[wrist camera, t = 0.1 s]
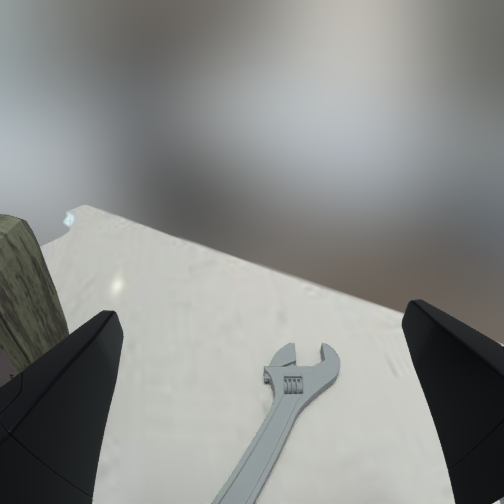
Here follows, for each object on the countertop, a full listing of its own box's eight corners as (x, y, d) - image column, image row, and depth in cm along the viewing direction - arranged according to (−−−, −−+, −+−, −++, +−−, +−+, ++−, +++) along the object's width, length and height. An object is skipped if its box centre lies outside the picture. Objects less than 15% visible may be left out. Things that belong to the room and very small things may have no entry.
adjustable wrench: (202, 585, 8) (197, 587, 7) (126, 536, 11) (117, 533, 10) (343, 362, 27) (347, 350, 26) (286, 343, 30) (287, 331, 29)
